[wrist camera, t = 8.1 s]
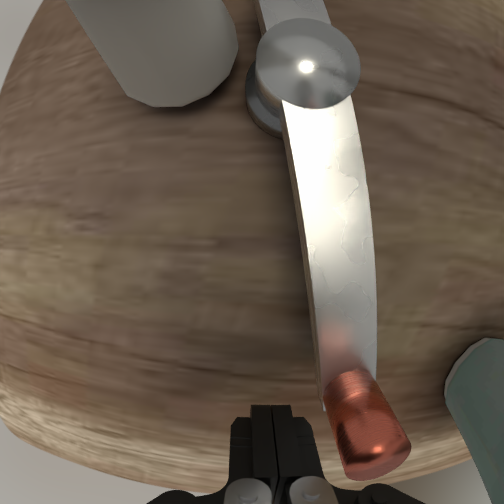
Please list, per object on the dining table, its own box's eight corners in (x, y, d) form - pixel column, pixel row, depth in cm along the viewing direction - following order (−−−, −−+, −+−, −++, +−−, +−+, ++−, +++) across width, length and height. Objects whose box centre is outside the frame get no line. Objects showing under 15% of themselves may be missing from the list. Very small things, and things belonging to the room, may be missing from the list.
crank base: (304, 48, 13) (311, 32, 11) (348, 117, 14) (361, 109, 12) (229, 83, 14) (226, 69, 12) (274, 155, 14) (278, 151, 12)
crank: (234, -6, 10) (226, -107, 4) (308, -12, 10) (341, -105, 4) (302, 384, 15) (327, 490, 8) (367, 369, 15) (419, 462, 8)
